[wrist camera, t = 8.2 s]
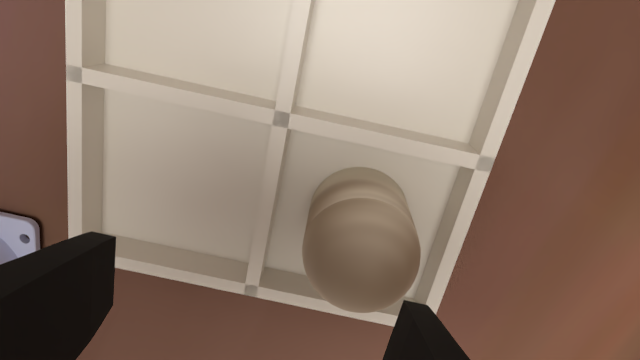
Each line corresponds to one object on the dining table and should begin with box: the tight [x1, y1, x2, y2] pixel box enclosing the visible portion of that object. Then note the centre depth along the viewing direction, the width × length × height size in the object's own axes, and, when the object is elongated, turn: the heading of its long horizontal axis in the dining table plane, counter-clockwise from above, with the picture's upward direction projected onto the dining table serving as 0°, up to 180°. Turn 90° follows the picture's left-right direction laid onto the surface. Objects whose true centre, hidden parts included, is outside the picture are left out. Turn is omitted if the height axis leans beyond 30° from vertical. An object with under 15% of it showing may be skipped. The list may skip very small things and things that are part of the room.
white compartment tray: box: [65, 0, 555, 326], centre depth 16 cm, size 25×17×2 cm
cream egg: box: [302, 167, 421, 313], centre depth 16 cm, size 4×4×6 cm
